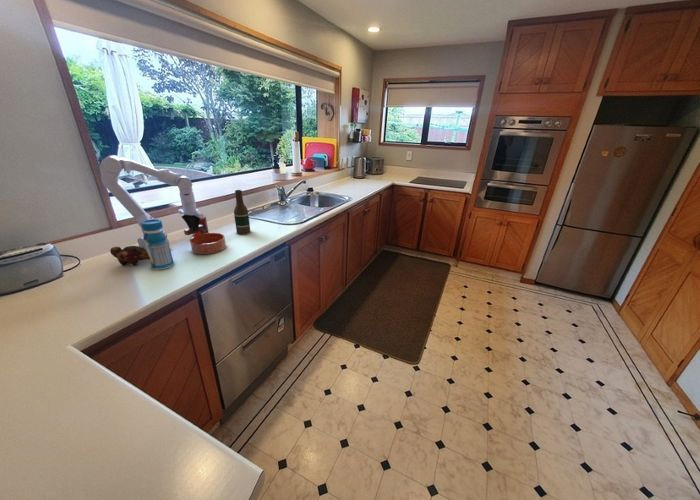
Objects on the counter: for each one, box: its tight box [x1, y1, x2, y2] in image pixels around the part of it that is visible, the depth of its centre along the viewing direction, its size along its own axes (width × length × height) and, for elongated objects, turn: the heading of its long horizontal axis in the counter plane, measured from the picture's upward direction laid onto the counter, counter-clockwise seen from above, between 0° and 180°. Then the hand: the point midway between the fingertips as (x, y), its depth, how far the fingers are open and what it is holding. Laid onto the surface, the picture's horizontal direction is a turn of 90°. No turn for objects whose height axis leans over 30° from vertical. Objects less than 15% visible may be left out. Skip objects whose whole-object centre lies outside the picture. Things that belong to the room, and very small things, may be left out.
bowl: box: [189, 232, 227, 255], centre depth 136 cm, size 15×15×6 cm
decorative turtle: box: [109, 245, 150, 267], centre depth 120 cm, size 10×15×8 cm, turn 104°
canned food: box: [192, 214, 210, 237], centre depth 150 cm, size 8×8×11 cm
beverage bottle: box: [141, 218, 175, 271], centre depth 116 cm, size 8×8×20 cm
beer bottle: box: [233, 189, 251, 236], centre depth 154 cm, size 8×8×24 cm
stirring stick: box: [183, 225, 204, 236], centre depth 137 cm, size 9×2×2 cm, turn 156°
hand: (194, 229), depth 137 cm, fingers closed on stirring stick, 2 cm apart
